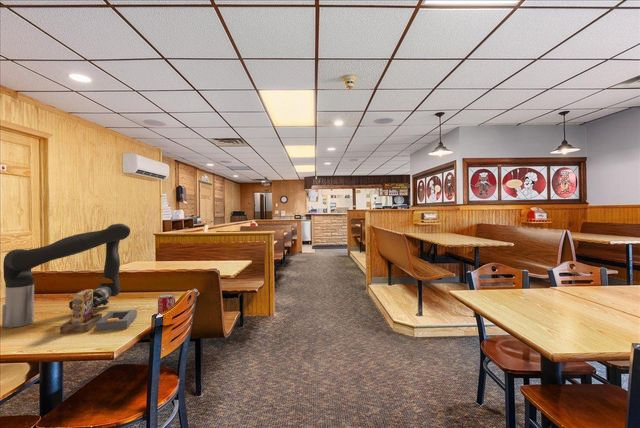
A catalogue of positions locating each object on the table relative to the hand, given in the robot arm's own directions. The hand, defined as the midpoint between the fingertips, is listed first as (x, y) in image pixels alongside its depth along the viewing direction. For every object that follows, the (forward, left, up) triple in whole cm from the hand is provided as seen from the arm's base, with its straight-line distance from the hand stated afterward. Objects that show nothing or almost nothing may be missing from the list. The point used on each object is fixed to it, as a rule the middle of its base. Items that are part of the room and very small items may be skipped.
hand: (83, 306), depth 136 cm
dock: (+13, -1, -9) cm, 16 cm away
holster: (0, -1, -9) cm, 9 cm away
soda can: (+34, -8, -9) cm, 36 cm away
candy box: (0, -1, -9) cm, 9 cm away
